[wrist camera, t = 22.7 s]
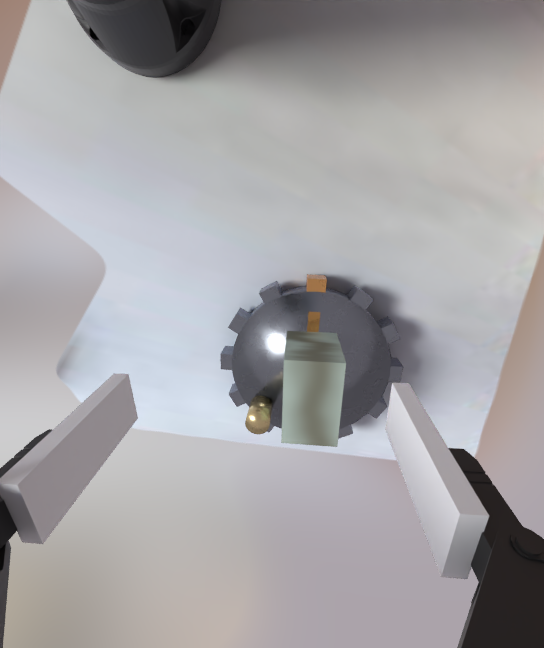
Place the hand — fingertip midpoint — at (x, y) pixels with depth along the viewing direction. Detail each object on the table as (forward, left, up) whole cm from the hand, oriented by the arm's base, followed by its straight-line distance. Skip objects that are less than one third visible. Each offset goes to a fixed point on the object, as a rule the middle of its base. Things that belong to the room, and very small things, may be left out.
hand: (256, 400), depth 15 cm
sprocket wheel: (+4, -9, -26) cm, 28 cm away
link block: (+4, -9, -22) cm, 24 cm away
